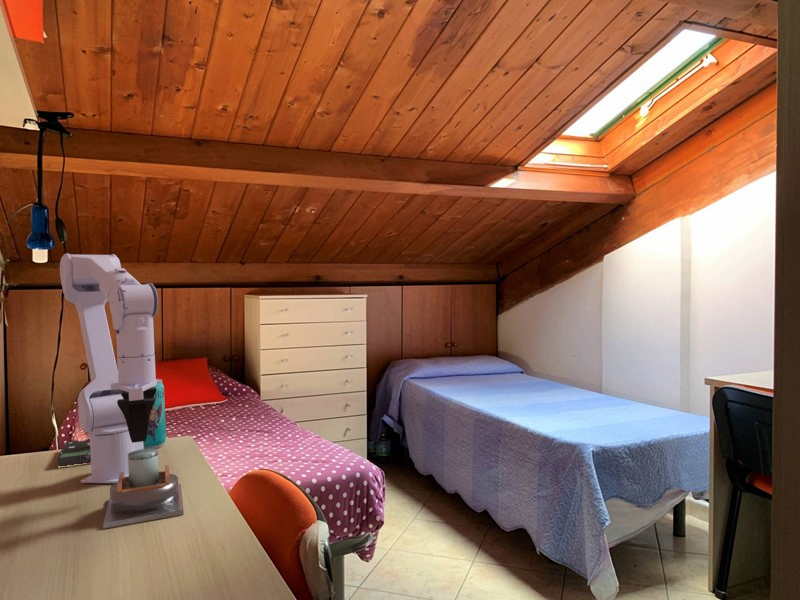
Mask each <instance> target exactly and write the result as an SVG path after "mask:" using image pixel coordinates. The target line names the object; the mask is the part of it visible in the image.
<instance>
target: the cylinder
mask: <svg viewBox="0 0 800 600" xmlns="http://www.w3.org/2000/svg"><path fill="white" fill-rule="evenodd" d="M128 470H129V487H131V488H135V487H142V486H148V485H155V484H157V483H158V482H159V472H160V469H159V451H158V448H157V449H141V450H136V451H133V452H130V453H129V454H128Z"/></svg>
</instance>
